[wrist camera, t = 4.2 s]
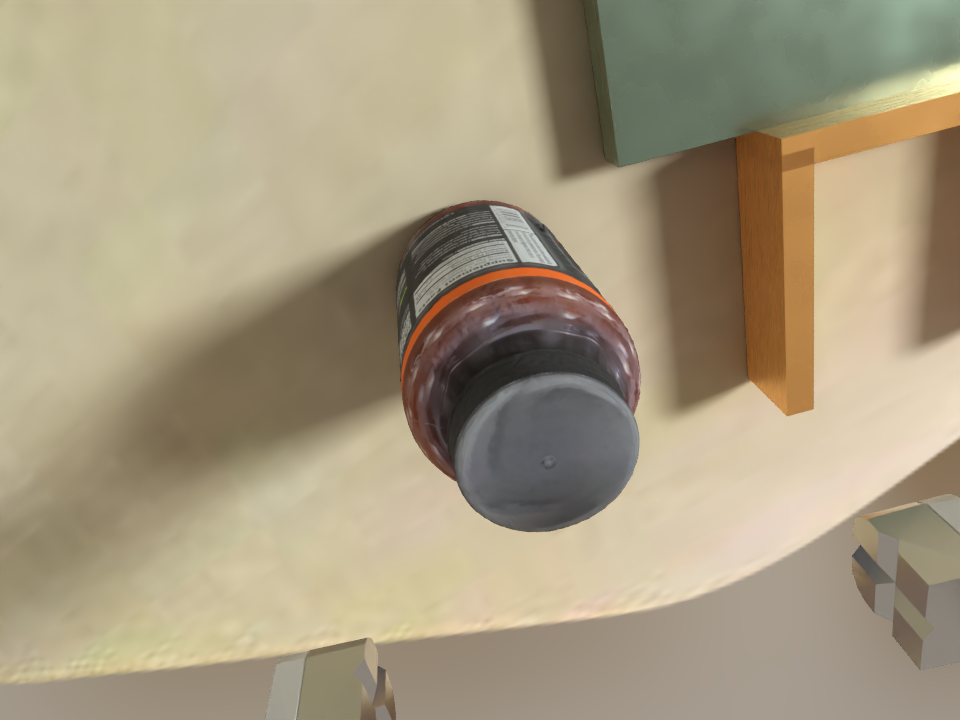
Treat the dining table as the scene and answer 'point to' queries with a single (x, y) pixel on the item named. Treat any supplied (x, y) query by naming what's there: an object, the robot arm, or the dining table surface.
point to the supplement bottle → (515, 369)
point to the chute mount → (773, 123)
